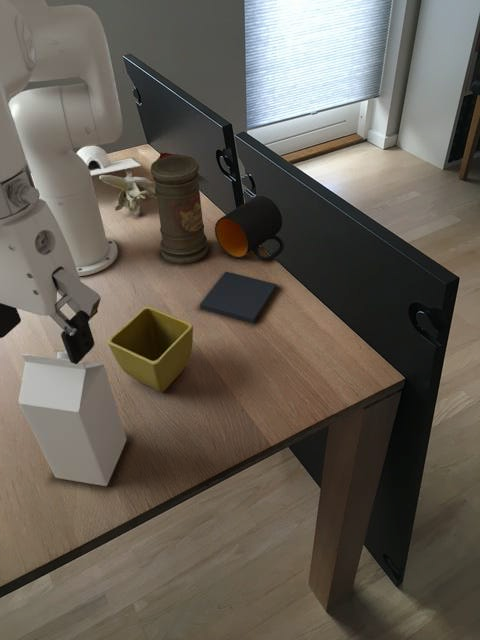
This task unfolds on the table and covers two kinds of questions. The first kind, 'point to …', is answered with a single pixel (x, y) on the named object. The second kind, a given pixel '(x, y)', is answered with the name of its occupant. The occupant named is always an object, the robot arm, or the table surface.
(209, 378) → the table surface
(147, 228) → the table surface
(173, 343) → the flower pot
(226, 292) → the slate mat
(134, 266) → the table surface
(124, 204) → the pale green plant
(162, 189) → the container
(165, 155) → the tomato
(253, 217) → the mug
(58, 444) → the milk carton
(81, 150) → the igloo
